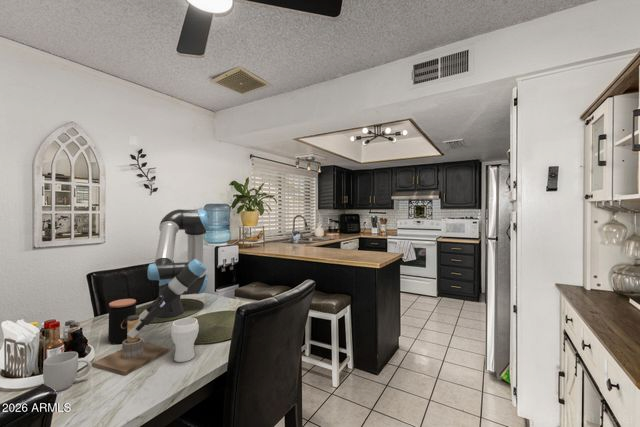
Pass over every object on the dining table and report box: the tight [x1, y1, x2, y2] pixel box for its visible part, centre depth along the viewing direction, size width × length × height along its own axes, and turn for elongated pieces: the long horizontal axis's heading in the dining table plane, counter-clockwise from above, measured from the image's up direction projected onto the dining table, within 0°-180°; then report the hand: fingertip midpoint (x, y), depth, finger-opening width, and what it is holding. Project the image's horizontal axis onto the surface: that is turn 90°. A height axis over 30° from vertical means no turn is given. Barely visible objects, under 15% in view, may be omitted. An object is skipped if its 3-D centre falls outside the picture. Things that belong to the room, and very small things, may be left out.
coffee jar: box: [107, 298, 137, 345], centre depth 136 cm, size 11×11×18 cm
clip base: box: [91, 336, 170, 376], centre depth 119 cm, size 20×18×8 cm
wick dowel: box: [127, 314, 140, 343], centre depth 119 cm, size 4×4×16 cm
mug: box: [42, 351, 92, 392], centre depth 100 cm, size 13×9×10 cm
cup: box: [170, 317, 200, 363], centre depth 121 cm, size 11×11×15 cm
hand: (132, 329), depth 119 cm, fingers open, 13 cm apart
